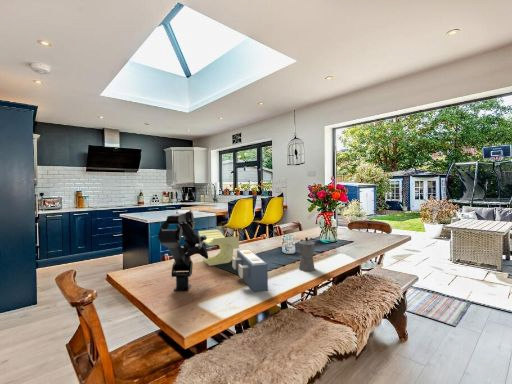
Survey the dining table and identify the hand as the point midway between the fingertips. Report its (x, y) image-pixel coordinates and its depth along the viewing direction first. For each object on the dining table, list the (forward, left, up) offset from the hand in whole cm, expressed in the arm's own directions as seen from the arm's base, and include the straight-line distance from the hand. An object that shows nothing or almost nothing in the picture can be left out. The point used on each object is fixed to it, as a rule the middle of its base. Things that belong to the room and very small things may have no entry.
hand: (207, 258), depth 135 cm
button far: (+6, -15, -7) cm, 18 cm away
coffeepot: (+19, -53, -12) cm, 57 cm away
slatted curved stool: (+36, 0, -12) cm, 38 cm away
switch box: (+1, -22, -12) cm, 25 cm away
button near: (-7, -20, -7) cm, 22 cm away
